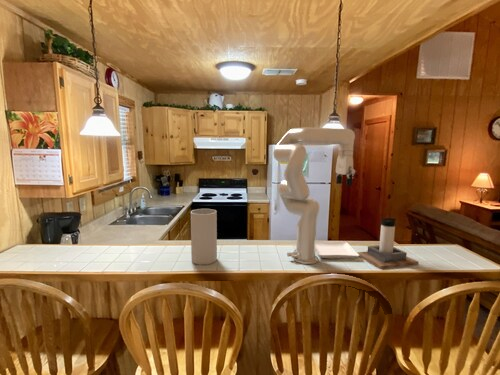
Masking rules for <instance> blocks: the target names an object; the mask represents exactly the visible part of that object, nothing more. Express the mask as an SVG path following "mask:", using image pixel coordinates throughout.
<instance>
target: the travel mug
mask: <svg viewBox="0 0 500 375" xmlns="http://www.w3.org/2000/svg"><path fill="white" fill-rule="evenodd" d="M396 221H397V219H396V218H395V217H394V218H389V217H388V218H387V217H386V218H382V219H381V224H380V235H379V245H380V247H379V251H381V252H383V253H385V254H387V253H393V247H394V244H395V232H396Z"/></svg>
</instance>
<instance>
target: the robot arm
mask: <svg viewBox="0 0 500 375" xmlns="http://www.w3.org/2000/svg"><path fill="white" fill-rule="evenodd" d="M355 138H356V135H355V131H353V130H352V129H351V128H332V127H331V128H329V127H311V126H310V127H307V126H305V127H304V126H303V127H294V128H291V129H289V130H288V131H287V132H286V133H285V134H284V135H283V137H282V138H281V139H280V140H279V141H278V143H276V146H275V147H274V149H273V154H272V155H273V158H274V160H276V161H277V162H279V163H287V164H286V167H285V169H284V173H283V177H284V179H283V180H282V181H281V182H279V185H278V194H279V197H280V199H281V201H282V204H283V205H284V207H285V209H286V211H287V212H289V213H290V214H293V215H296V216H299V217H300V218H299V220H298V222H297V225H296V245H295V246H296V249H294V250H293V251H292V252H287V253H286V256H287V257H290V258H292V259H293V261H295V262H296V263H298V264H302V265H312V264H313V265H314V264H315V263H318V262H319V256H318V255H316V241H317V225H318V224H317V223H318V217H319V213H320V203H319V202H318V201H317V200H315V199H314V198H310V193H311V192H310V188H309V186H308V184H307V180H306V178H305V176H304V174H303V166H304V163H305V160H306V157H307V150H306V146H330V145H331V146H332V145H338V154H337V155H338V156H337V159H336V163H335V168H334V170H335V176H336V184H338V185H340V184H342V182H343V175H346V182H345V183H346V187H347V186H348V187H351V186H353V179H354V177H355V174H356V170H355V169H354V157H353V156H354V141H355Z"/></svg>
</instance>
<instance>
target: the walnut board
mask: <svg viewBox="0 0 500 375" xmlns="http://www.w3.org/2000/svg"><path fill="white" fill-rule="evenodd" d="M356 252H357V253H358V254H359V255H360V256H359V257H358V258H360V259H362V260H363V261H366V262H367V263H369V264H370V265H372V266H374V267H376V268H378V270H386V269H387V270H388V269H393V268H401V267H410V266H419V261H418V260H416V259H413V258H411V257H409V256H407V255H406V261H398V262H389V263H384V262H382V261H380V260H378V259H376V258H375V257H373V256H371V255H369V254H367V253H368V250H367V251H359V252H358V251H356Z"/></svg>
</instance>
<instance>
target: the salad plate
mask: <svg viewBox="0 0 500 375" xmlns="http://www.w3.org/2000/svg"><path fill="white" fill-rule="evenodd" d="M357 252H358V251H356V249H354V248H353V247H352V246H351V245H350V244H349V243H348V242H347V241H337V240H335V241H331V240H330V241H329V240H328V241H327V240H316V250H315V253H316V254H317V257H318V258H323V259H343V260H344V259H345V260H346V259H357V258H360V257H359V256H360V255H359V254H358V253H357Z"/></svg>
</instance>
